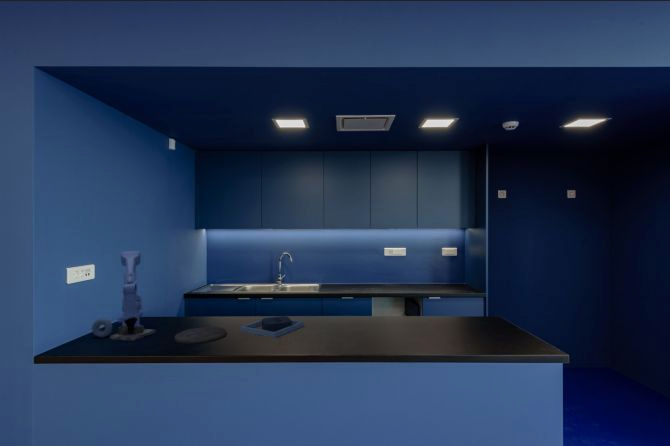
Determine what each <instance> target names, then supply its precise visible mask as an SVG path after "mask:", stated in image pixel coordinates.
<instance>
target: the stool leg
mask: <svg viewBox="0 0 670 446" xmlns="http://www.w3.org/2000/svg"><path fill="white" fill-rule="evenodd" d="M144 329H145V327H144V325H143V326H134V332H133V333H128V327H123V326H122V325H120V326H118V327H117V333H118V335H124V334H135V333H143V332H144Z"/></svg>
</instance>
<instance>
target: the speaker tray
mask: <svg viewBox="0 0 670 446" xmlns="http://www.w3.org/2000/svg"><path fill="white" fill-rule="evenodd" d="M271 317H272V316H270V317H269V318H271ZM291 320H292V326H289V327H287V328H284V329H281V330H279V331H276V332H271V331H265V330H263V329H259V328H258V327H262V319H259V320H258V321H255V322H251V323H248V324H245V325H243V326H240V332H241V333H246V334H250V335H251V334H252V335H258V336H261V337H262V336H263V337H268V338H274V339H275V338H279V337H281V336H283V335H286V334H288V333H290V332H292V331H295V330H297V329H300V328H304V325H305V324H304V323H305V322H304V321H300V320H294V319H291Z"/></svg>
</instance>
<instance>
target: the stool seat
mask: <svg viewBox="0 0 670 446" xmlns="http://www.w3.org/2000/svg"><path fill="white" fill-rule="evenodd" d="M123 327H127V325H125V326H123ZM156 332H157V331H156V329H150V328H149V329H148V328H144V332H143V333H135V334H124V335H118V332H117V333H115V334H112V335H109V339H110V340H118V341H131V342H133V341H136V339H137V340H139V339H142V338H144V336H145V337H147V335H148V336H151V335H153V334H155V333H156Z"/></svg>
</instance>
